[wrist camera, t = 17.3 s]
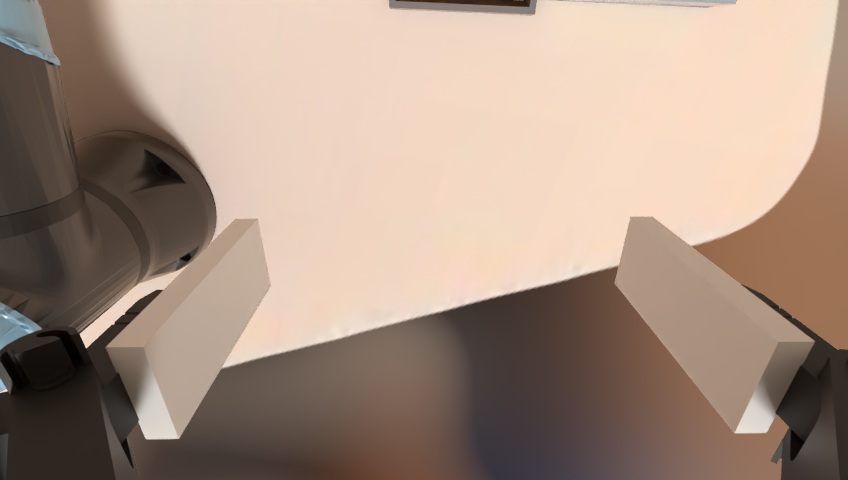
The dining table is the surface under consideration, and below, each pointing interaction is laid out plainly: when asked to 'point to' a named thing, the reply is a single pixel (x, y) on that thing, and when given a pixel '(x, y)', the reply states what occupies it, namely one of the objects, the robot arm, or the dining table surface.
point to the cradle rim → (465, 7)
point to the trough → (669, 2)
